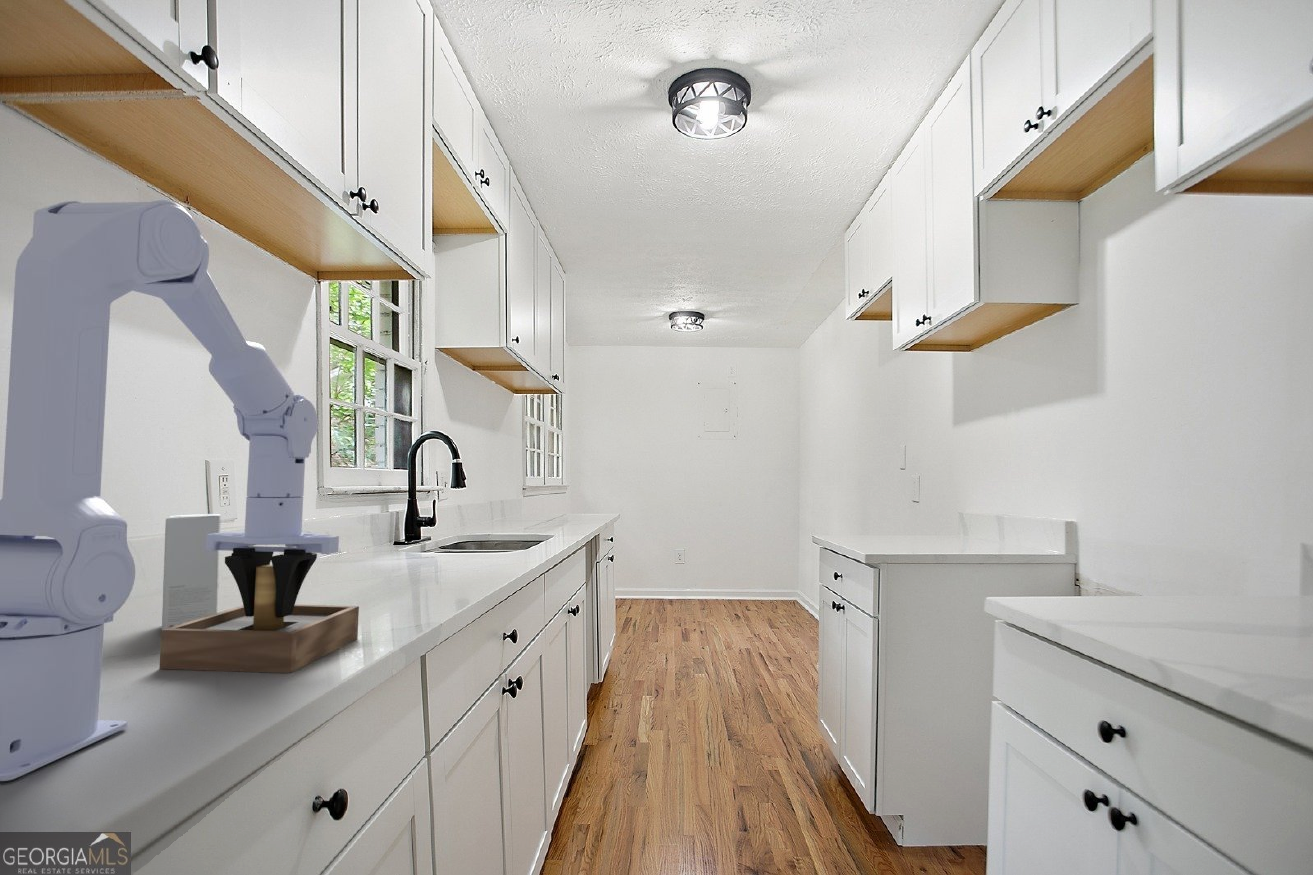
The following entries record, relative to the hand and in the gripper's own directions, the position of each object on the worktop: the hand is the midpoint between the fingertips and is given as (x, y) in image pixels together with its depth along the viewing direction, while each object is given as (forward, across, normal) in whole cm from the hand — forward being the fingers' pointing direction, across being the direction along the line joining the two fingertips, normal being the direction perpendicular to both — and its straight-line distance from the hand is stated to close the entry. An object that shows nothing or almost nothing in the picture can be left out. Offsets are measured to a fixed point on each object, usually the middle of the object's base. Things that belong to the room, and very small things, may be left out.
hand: (269, 615), depth 75 cm
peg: (+2, 0, 0) cm, 2 cm away
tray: (+4, 0, 0) cm, 4 cm away
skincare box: (+4, +17, -10) cm, 20 cm away
